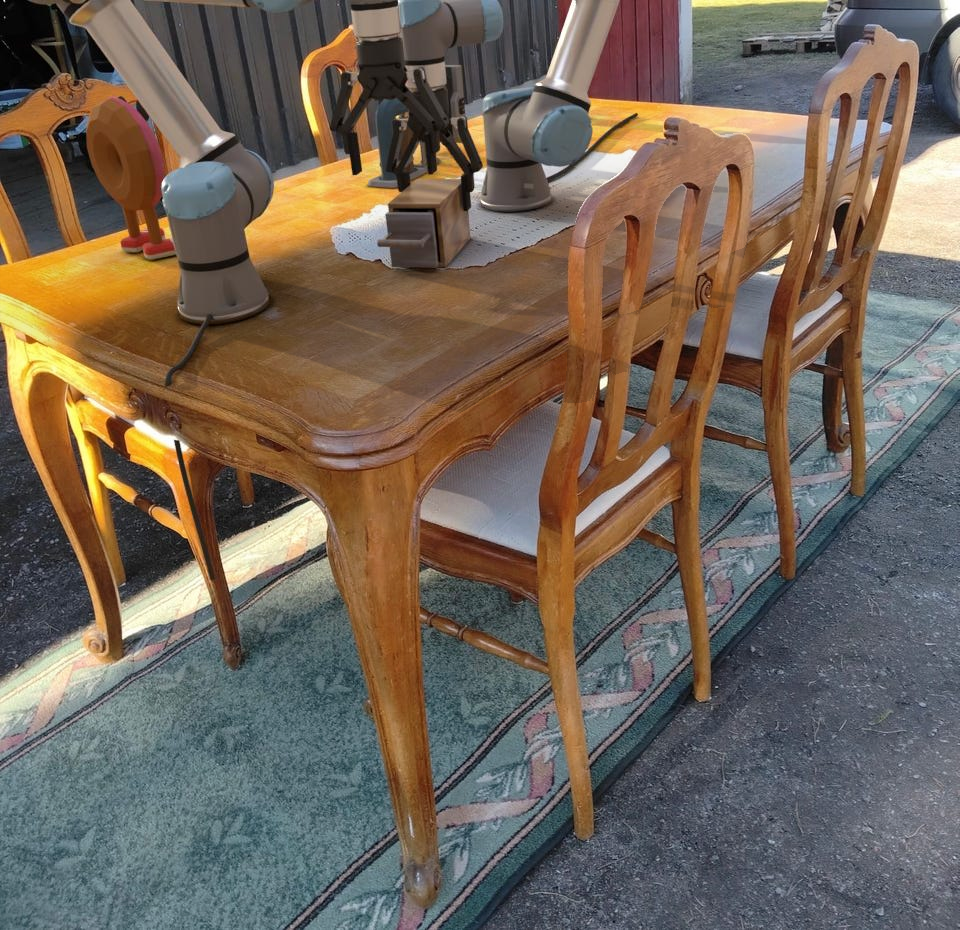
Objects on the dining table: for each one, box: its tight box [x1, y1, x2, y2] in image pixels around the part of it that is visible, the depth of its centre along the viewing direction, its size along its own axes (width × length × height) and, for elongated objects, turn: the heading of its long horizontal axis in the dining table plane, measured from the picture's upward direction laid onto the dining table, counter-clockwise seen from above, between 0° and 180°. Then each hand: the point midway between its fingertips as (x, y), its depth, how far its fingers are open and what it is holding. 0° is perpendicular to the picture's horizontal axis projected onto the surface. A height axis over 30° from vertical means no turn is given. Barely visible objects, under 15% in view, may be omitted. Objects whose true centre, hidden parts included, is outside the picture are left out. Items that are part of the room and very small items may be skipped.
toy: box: [85, 95, 177, 261], centre depth 190 cm, size 21×10×30 cm, turn 47°
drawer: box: [376, 208, 440, 269], centre depth 176 cm, size 21×9×10 cm, turn 164°
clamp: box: [367, 64, 466, 189], centre depth 236 cm, size 35×9×21 cm, turn 151°
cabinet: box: [387, 178, 471, 268], centre depth 182 cm, size 16×10×12 cm, turn 164°
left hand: (394, 173), depth 164 cm, fingers open, 13 cm apart
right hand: (438, 208), depth 185 cm, fingers open, 11 cm apart
